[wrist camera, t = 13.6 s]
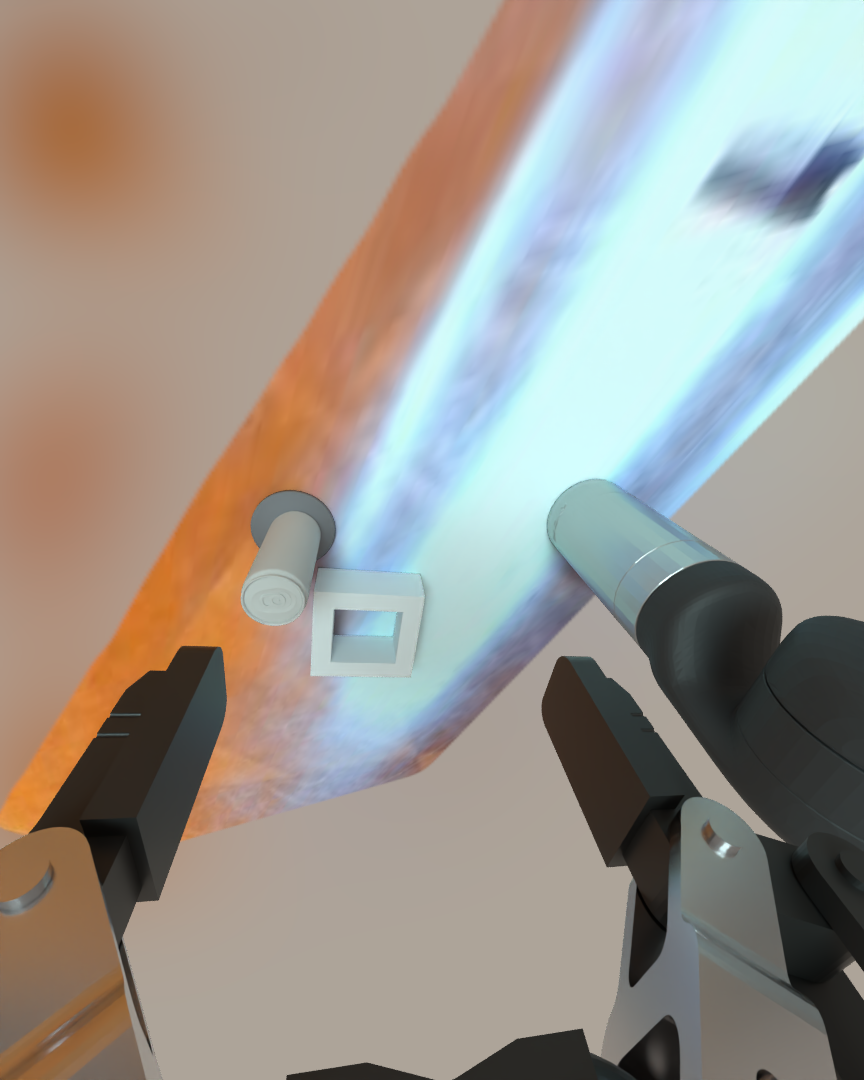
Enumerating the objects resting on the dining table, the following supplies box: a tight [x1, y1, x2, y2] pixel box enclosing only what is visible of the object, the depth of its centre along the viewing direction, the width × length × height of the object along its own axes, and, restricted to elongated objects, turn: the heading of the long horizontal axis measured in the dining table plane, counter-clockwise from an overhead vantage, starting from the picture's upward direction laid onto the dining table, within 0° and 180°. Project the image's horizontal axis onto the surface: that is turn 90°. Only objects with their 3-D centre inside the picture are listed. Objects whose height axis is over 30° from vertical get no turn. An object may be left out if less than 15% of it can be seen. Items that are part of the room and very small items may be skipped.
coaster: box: [251, 490, 335, 560], centre depth 42 cm, size 8×8×1 cm
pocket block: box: [311, 568, 425, 677], centre depth 46 cm, size 11×11×4 cm
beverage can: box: [241, 511, 321, 626], centre depth 36 cm, size 5×5×12 cm
